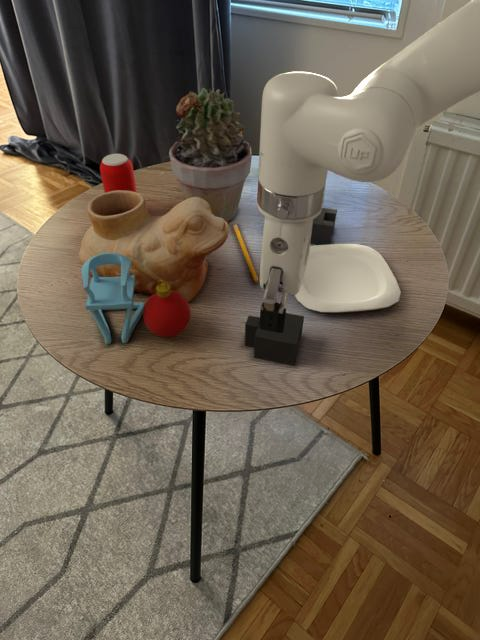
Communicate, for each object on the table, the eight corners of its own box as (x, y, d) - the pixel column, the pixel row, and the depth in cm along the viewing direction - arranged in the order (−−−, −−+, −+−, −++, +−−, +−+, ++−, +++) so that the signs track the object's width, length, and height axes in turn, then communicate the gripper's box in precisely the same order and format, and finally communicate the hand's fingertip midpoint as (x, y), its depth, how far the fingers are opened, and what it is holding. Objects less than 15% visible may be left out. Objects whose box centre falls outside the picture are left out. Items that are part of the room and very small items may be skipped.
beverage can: (104, 220, 97) (92, 164, 89) (116, 205, 102) (106, 150, 94) (133, 224, 96) (123, 167, 88) (144, 208, 101) (136, 153, 93)
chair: (90, 345, 73) (71, 284, 64) (97, 308, 79) (80, 247, 70) (142, 342, 73) (130, 280, 65) (145, 305, 79) (134, 245, 71)
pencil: (236, 225, 96) (236, 222, 96) (258, 282, 84) (259, 279, 83) (232, 226, 96) (232, 223, 96) (254, 282, 83) (254, 279, 83)
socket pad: (333, 229, 95) (337, 209, 92) (329, 246, 91) (333, 226, 88) (303, 225, 97) (306, 205, 94) (298, 241, 92) (300, 221, 89)
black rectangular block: (301, 337, 74) (304, 316, 71) (294, 366, 70) (296, 344, 67) (251, 327, 76) (251, 306, 72) (241, 355, 71) (241, 333, 68)
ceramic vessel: (218, 313, 78) (215, 234, 67) (69, 288, 82) (45, 210, 72) (238, 262, 88) (238, 187, 77) (104, 243, 92) (87, 168, 81)
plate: (373, 248, 91) (375, 240, 90) (408, 313, 78) (411, 305, 77) (278, 254, 89) (279, 246, 88) (298, 322, 76) (299, 314, 75)
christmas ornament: (136, 336, 74) (126, 285, 67) (164, 309, 78) (157, 259, 72) (174, 353, 72) (167, 303, 65) (201, 324, 76) (197, 274, 69)
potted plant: (261, 188, 107) (265, 66, 90) (253, 238, 93) (257, 104, 76) (180, 183, 109) (170, 62, 91) (161, 232, 95) (144, 100, 77)
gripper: (310, 242, 48) (294, 356, 60) (333, 165, 60) (315, 273, 72) (238, 230, 50) (236, 344, 62) (274, 157, 62) (266, 264, 74)
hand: (279, 305), depth 67 cm, fingers open, 9 cm apart
